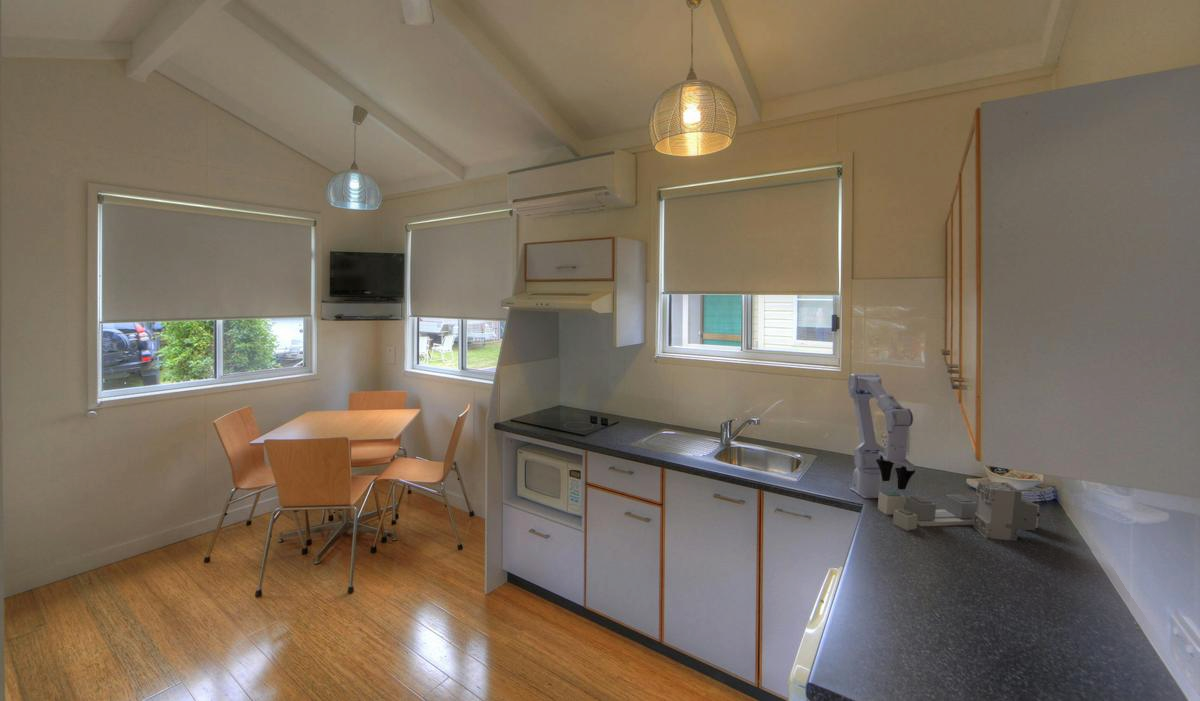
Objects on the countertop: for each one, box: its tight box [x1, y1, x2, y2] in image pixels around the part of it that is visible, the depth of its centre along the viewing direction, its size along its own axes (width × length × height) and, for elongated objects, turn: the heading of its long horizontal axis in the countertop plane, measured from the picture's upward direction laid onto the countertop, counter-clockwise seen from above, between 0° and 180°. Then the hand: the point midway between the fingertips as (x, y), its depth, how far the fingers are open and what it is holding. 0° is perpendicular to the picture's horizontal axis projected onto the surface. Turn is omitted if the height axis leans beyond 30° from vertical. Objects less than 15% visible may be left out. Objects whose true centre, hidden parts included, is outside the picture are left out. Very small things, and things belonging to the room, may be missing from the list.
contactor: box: [892, 508, 918, 531], centre depth 163 cm, size 5×4×5 cm
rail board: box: [904, 494, 978, 527], centre depth 168 cm, size 9×20×7 cm, turn 96°
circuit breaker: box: [972, 480, 1040, 542], centre depth 157 cm, size 8×14×15 cm, turn 78°
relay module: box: [877, 491, 906, 515], centre depth 174 cm, size 4×6×6 cm
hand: (893, 484), depth 173 cm, fingers open, 7 cm apart
